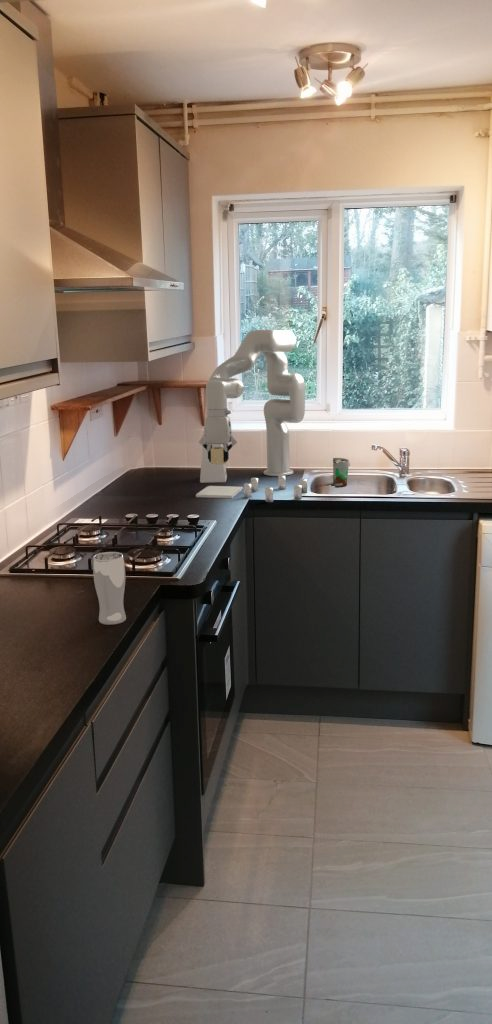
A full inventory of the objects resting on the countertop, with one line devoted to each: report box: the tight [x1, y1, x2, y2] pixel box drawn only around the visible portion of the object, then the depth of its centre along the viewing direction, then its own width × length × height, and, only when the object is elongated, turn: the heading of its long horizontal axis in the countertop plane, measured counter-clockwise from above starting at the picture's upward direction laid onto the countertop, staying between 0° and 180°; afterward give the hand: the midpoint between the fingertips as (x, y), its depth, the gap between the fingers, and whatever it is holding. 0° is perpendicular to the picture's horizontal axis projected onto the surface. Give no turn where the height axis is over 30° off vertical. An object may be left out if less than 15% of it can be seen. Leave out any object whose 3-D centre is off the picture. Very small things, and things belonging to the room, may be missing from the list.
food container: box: [332, 457, 351, 489], centre depth 319 cm, size 12×6×10 cm, turn 179°
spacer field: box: [243, 476, 308, 503], centre depth 306 cm, size 25×22×5 cm
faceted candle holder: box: [211, 447, 227, 465], centre depth 308 cm, size 6×5×6 cm
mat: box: [195, 485, 244, 499], centre depth 312 cm, size 16×14×1 cm
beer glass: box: [92, 551, 127, 626], centre depth 181 cm, size 7×7×15 cm
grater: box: [199, 433, 228, 483], centre depth 335 cm, size 10×10×20 cm
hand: (218, 461), depth 309 cm, fingers closed on faceted candle holder, 5 cm apart
